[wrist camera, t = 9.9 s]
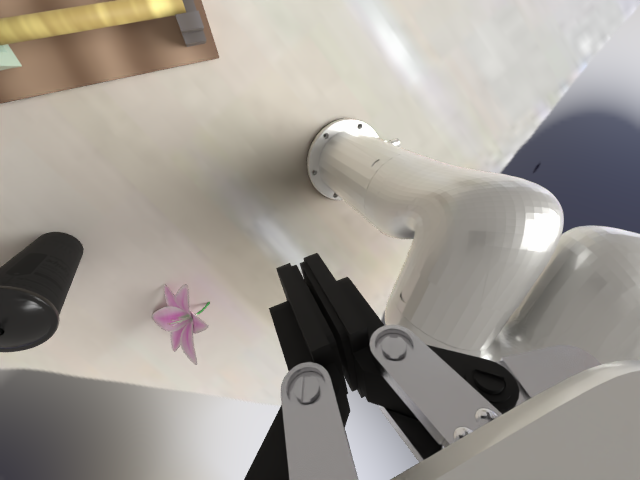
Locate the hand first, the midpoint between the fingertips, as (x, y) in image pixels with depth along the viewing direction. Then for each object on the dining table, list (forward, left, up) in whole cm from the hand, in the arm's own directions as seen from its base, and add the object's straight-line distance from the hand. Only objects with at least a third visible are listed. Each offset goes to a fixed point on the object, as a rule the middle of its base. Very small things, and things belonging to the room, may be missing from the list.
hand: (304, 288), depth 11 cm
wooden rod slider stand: (+11, -13, -33) cm, 37 cm away
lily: (+16, +23, -33) cm, 43 cm away
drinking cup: (+25, +8, -33) cm, 42 cm away
